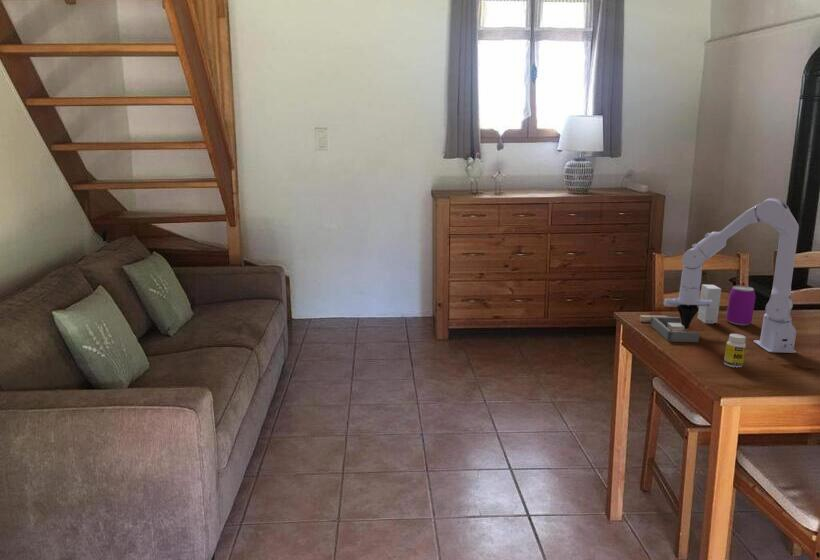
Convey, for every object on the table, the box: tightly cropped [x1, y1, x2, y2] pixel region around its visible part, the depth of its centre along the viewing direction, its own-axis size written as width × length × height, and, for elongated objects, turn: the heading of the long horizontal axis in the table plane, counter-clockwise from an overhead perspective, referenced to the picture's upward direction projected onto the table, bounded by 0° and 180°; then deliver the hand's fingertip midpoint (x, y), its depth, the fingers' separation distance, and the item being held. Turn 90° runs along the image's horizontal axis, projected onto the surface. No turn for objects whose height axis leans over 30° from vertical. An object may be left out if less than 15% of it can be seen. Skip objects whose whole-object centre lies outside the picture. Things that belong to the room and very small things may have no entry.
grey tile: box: [667, 322, 685, 330], centre depth 206 cm, size 4×4×2 cm
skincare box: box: [697, 283, 722, 324], centre depth 215 cm, size 6×4×12 cm
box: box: [650, 316, 700, 343], centre depth 203 cm, size 16×9×3 cm, turn 179°
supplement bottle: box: [723, 333, 747, 369], centre depth 176 cm, size 5×5×8 cm
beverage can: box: [725, 285, 757, 327], centre depth 214 cm, size 8×8×12 cm
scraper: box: [638, 314, 669, 323], centre depth 215 cm, size 7×11×2 cm, turn 89°
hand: (684, 327), depth 206 cm, fingers closed
